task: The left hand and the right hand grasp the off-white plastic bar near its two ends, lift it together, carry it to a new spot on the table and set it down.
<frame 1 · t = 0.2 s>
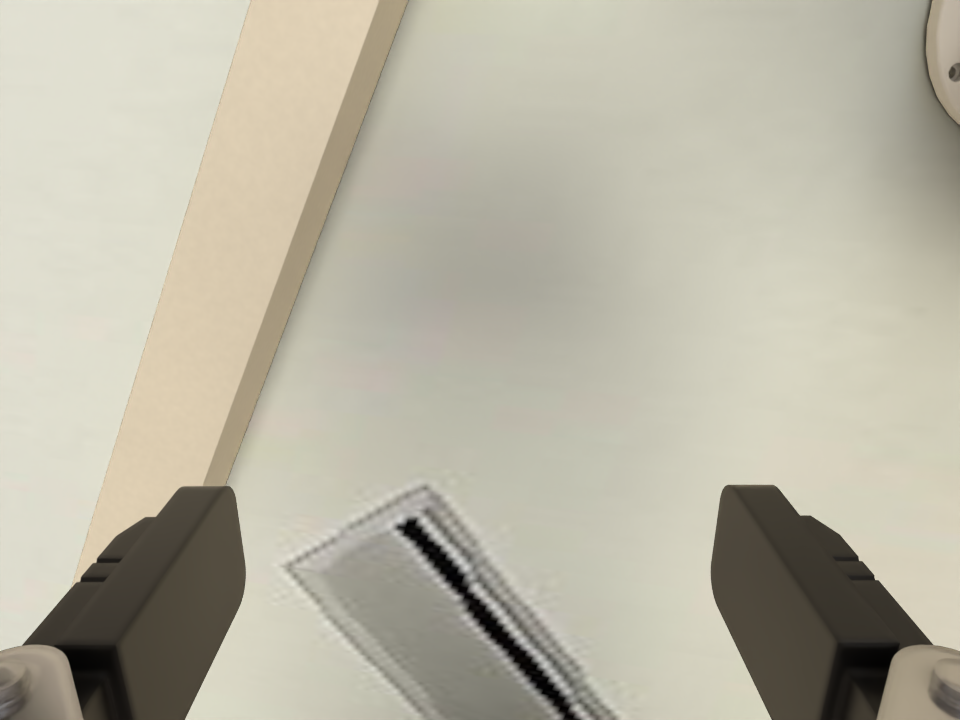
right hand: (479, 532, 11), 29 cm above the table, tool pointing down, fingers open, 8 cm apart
bar: (315, 117, 36), on the table
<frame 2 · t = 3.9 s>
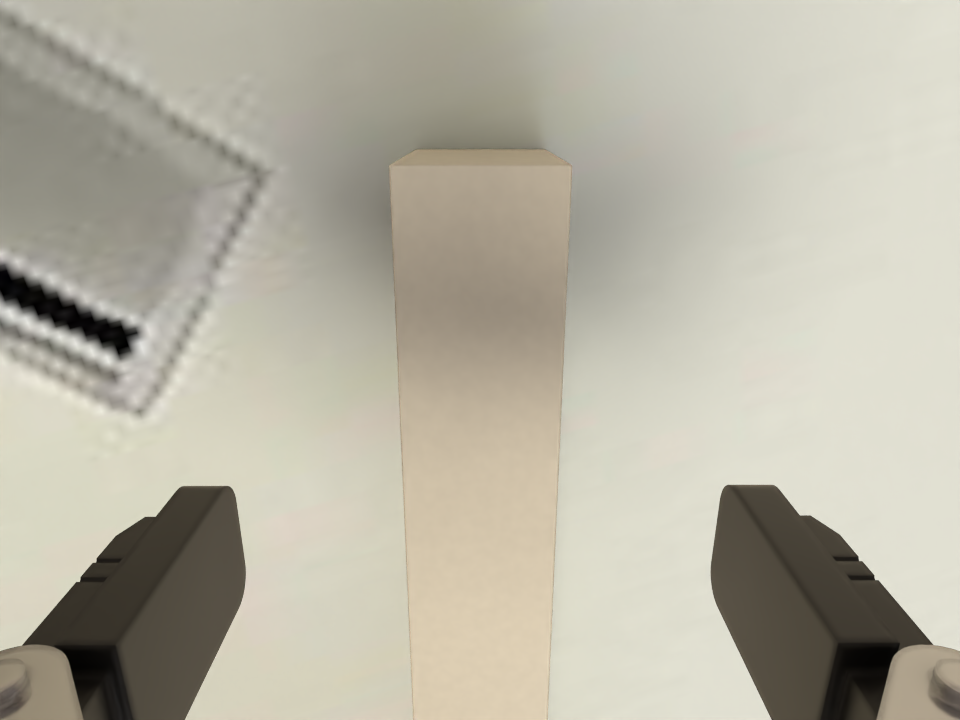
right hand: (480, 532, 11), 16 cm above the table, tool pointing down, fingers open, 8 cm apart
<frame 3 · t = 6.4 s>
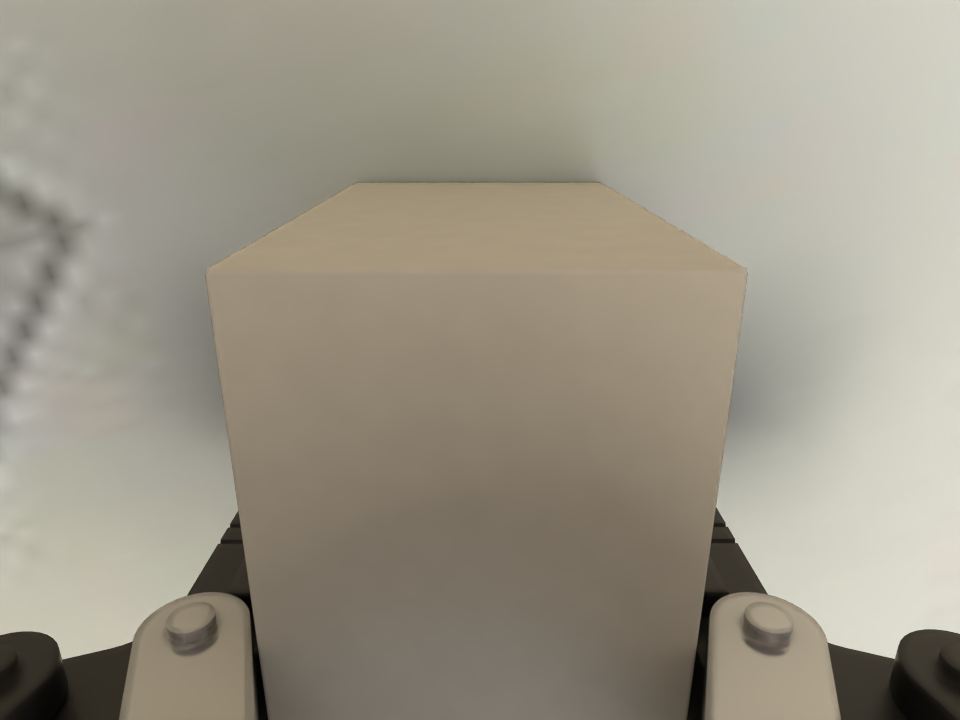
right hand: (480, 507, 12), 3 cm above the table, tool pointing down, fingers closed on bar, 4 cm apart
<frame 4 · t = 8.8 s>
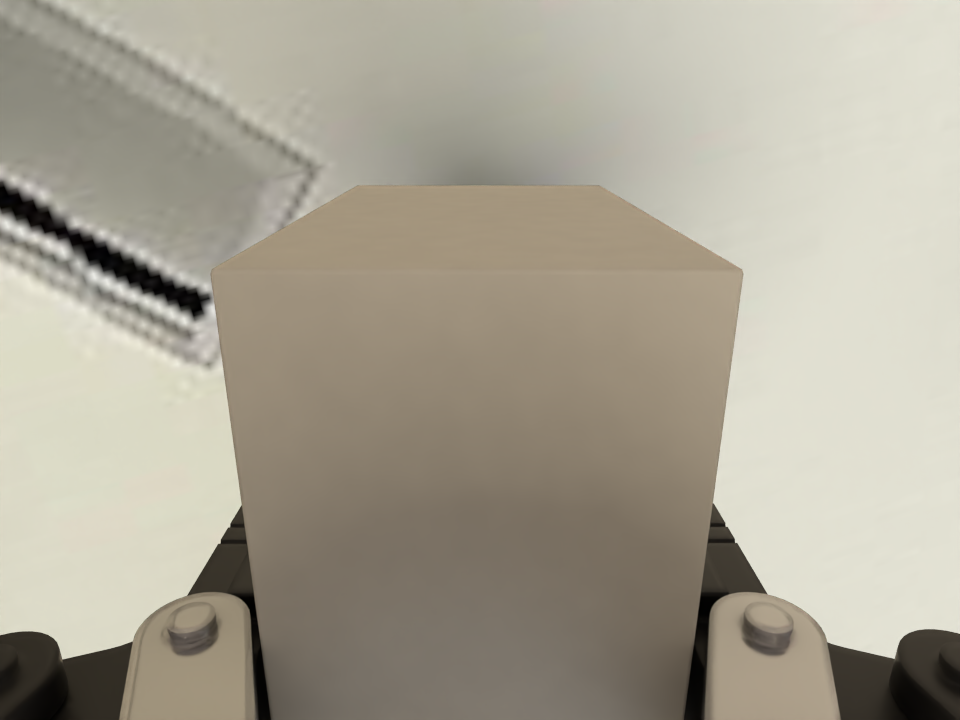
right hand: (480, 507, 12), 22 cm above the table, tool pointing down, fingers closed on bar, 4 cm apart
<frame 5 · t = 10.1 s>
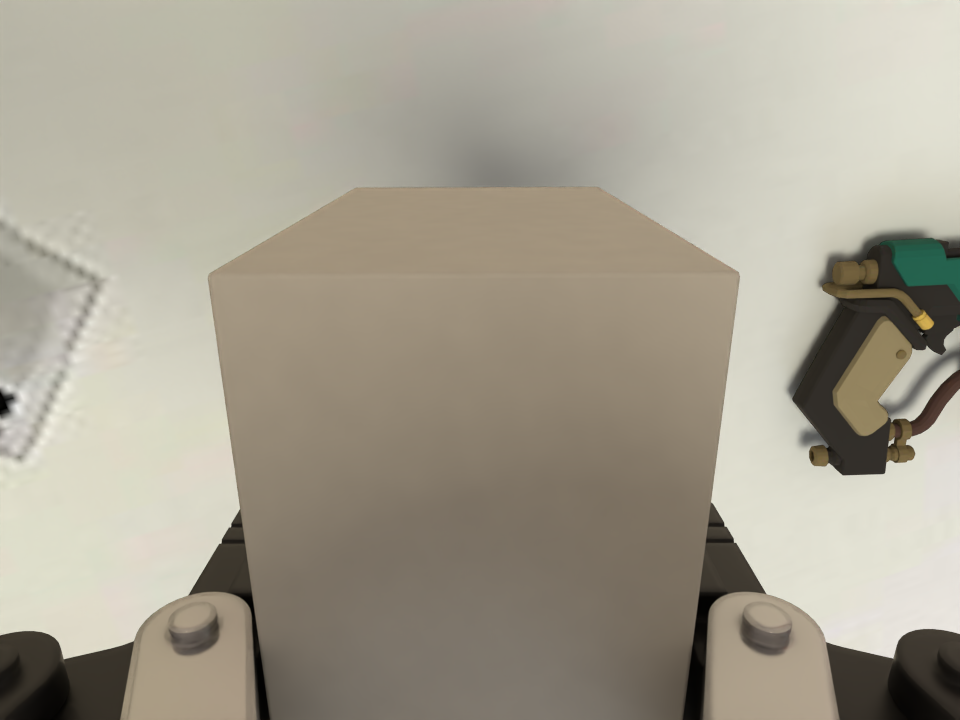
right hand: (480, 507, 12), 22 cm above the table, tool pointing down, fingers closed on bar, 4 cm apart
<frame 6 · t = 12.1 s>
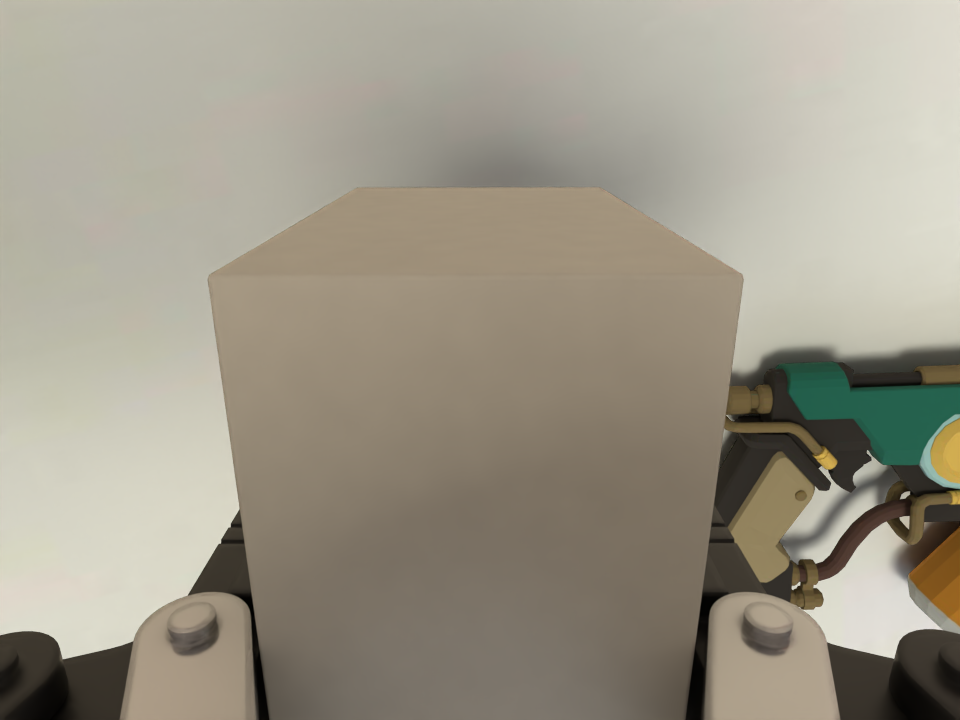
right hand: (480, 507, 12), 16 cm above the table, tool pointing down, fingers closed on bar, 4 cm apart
spray gun: (883, 465, 29), on the table
when the left hand's fingers open (3 cm above the table, at t = 13.9 s): bar moves 1 cm, on the table.
when the right hand's fingers open (4 cm above the table, at t = 13.9 s): bar moves 1 cm, on the table.
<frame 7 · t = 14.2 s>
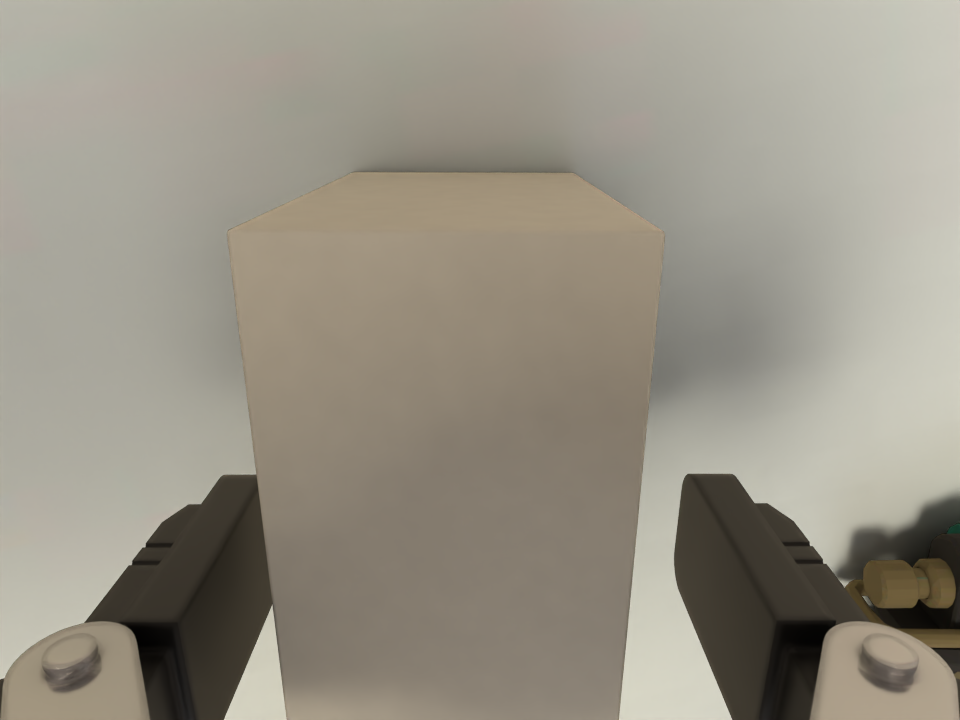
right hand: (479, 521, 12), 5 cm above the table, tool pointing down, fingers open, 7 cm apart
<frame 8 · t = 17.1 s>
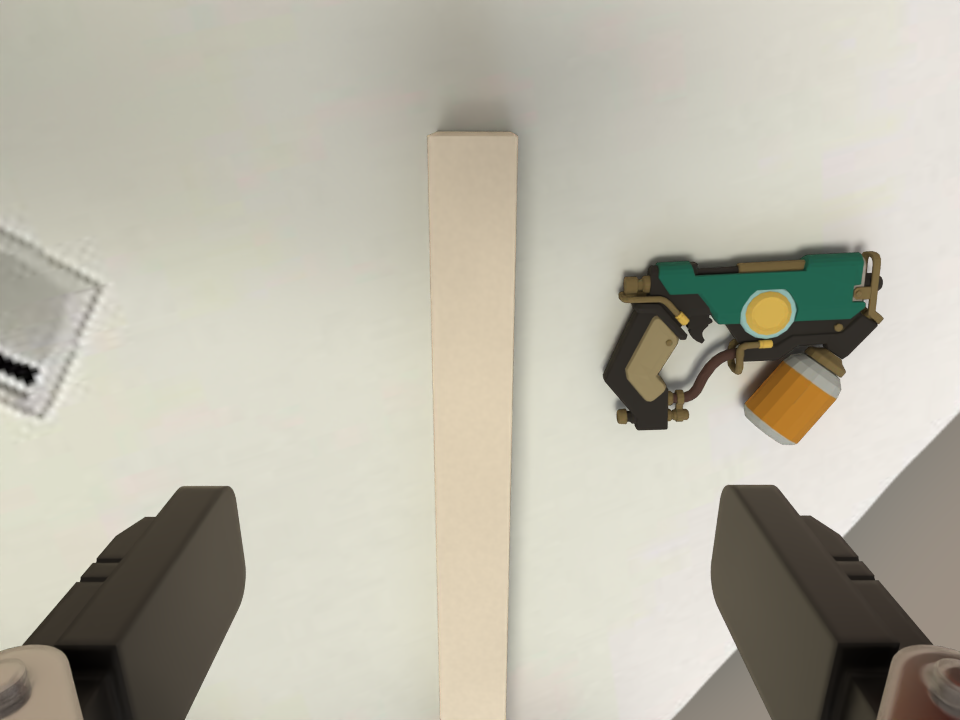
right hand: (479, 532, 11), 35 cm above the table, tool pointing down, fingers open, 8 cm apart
bar: (473, 526, 52), on the table
spray gun: (727, 332, 47), on the table
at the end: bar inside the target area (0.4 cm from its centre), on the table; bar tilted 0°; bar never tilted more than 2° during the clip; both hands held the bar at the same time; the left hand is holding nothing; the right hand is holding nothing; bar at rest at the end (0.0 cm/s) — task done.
